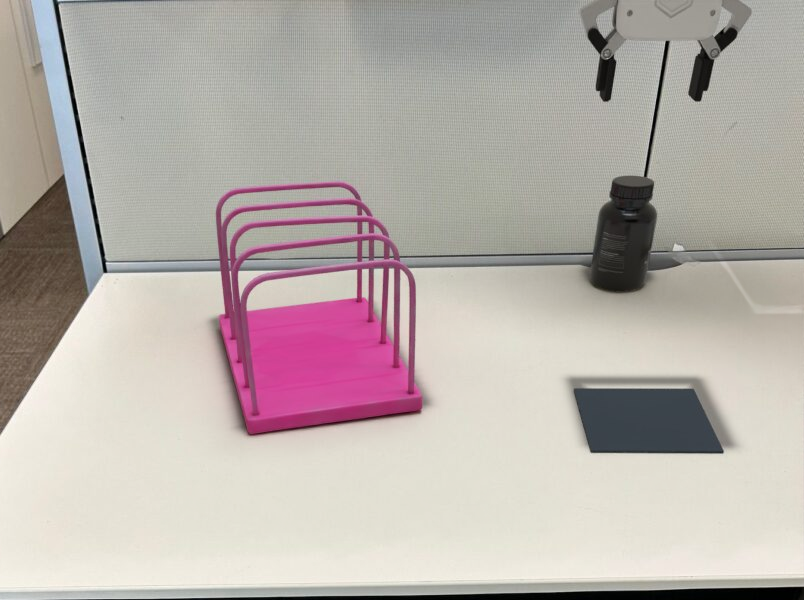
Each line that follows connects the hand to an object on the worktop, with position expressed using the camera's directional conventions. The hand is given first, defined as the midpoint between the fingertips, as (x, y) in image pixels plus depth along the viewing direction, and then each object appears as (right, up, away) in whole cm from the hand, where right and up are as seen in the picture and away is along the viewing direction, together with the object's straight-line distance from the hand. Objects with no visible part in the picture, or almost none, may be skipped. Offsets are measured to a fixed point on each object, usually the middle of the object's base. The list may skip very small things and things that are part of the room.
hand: (649, 98), depth 100 cm
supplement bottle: (+1, -15, +15) cm, 21 cm away
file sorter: (-37, -30, -1) cm, 47 cm away
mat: (-4, -37, -11) cm, 39 cm away
